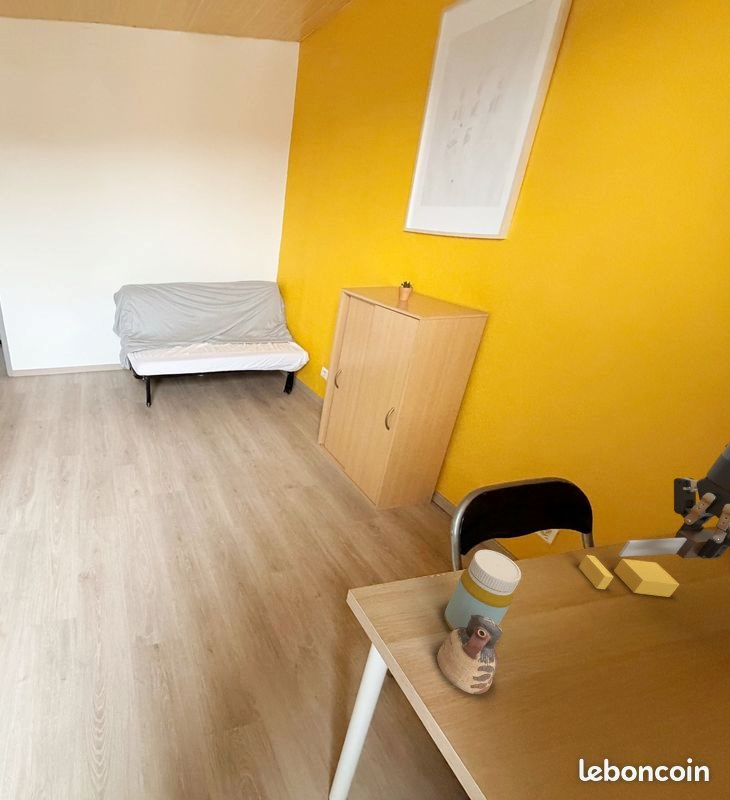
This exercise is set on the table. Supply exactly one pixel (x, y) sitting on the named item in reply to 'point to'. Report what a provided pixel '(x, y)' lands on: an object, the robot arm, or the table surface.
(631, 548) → the knife
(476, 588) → the bottle
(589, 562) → the butter slice
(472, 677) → the figurine
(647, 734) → the table surface
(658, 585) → the butter block
